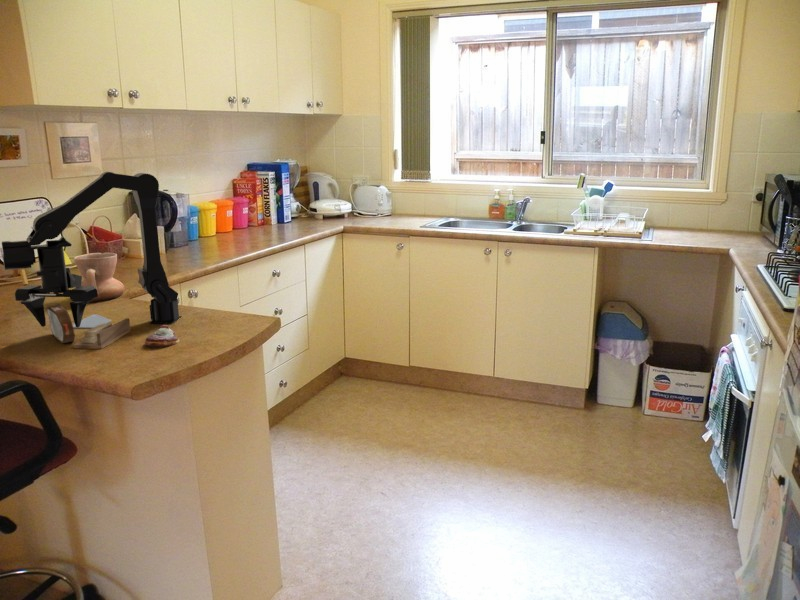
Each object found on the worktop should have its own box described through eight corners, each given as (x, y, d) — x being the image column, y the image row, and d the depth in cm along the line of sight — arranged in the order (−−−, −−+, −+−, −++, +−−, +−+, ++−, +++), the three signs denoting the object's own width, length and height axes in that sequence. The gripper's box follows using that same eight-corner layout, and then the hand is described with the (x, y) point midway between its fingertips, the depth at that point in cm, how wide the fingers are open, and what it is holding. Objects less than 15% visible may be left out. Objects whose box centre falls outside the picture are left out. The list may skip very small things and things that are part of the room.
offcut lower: (115, 331, 170) (114, 326, 169) (93, 342, 160) (93, 338, 160) (104, 331, 170) (103, 326, 170) (82, 342, 160) (81, 337, 160)
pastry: (183, 341, 164) (182, 321, 163) (172, 350, 157) (170, 330, 156) (152, 341, 164) (150, 321, 163) (139, 350, 157) (137, 330, 156)
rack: (130, 332, 171) (129, 318, 171) (101, 348, 158) (99, 333, 157) (105, 331, 172) (103, 317, 171) (74, 348, 159) (72, 333, 158)
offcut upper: (112, 327, 168) (111, 323, 168) (94, 336, 161) (94, 332, 160) (102, 327, 169) (102, 323, 168) (84, 336, 161) (84, 332, 161)
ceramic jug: (85, 294, 216) (80, 251, 212) (131, 292, 218) (126, 250, 214) (66, 307, 198) (60, 261, 195) (116, 305, 200) (111, 259, 197)
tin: (77, 344, 162) (72, 311, 160) (63, 347, 160) (58, 314, 158) (61, 332, 173) (57, 300, 171) (48, 334, 171) (44, 302, 169)
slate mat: (133, 311, 193) (133, 309, 193) (98, 328, 175) (97, 327, 175) (104, 310, 194) (104, 309, 194) (66, 328, 176) (66, 326, 176)
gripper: (105, 260, 169) (112, 318, 172) (37, 259, 171) (46, 317, 174) (81, 268, 158) (89, 330, 161) (8, 267, 160) (18, 329, 163)
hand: (60, 326), depth 165 cm, fingers open, 9 cm apart
